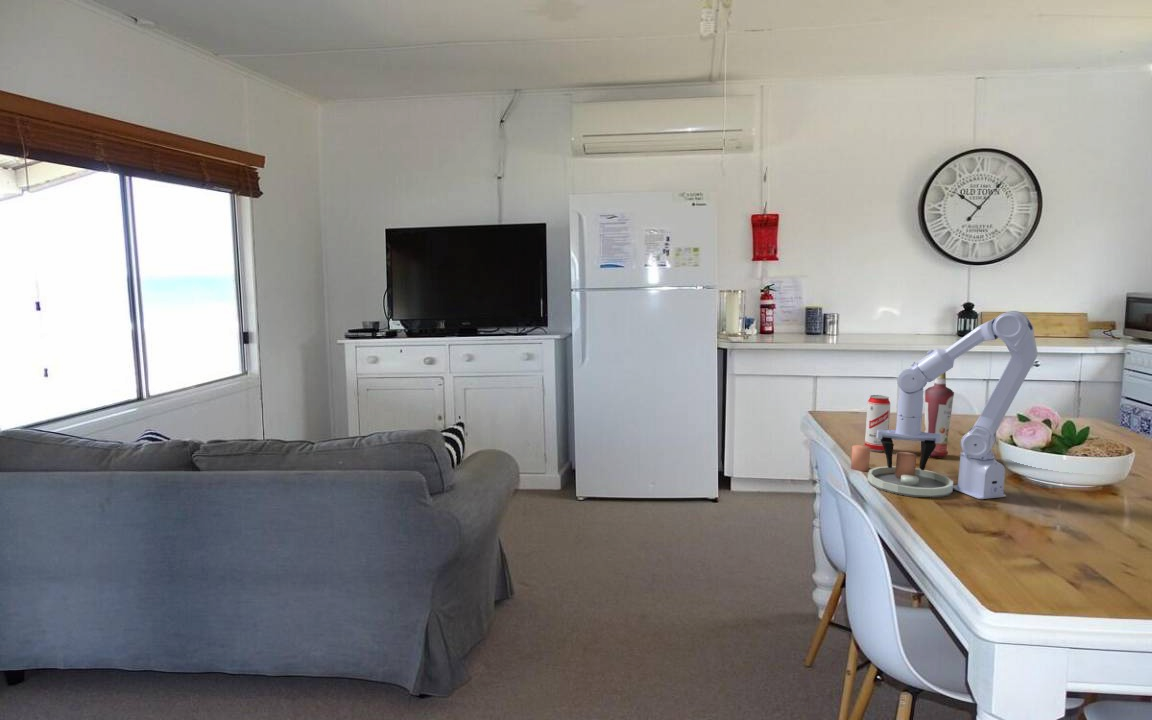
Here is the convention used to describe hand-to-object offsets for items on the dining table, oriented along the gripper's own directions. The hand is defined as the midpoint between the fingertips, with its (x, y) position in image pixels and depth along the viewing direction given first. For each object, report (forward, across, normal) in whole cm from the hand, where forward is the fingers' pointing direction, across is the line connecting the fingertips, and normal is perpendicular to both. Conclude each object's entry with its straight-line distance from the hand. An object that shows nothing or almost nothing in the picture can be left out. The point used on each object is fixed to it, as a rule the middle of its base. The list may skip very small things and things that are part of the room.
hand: (905, 468), depth 183 cm
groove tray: (+3, 0, +5) cm, 6 cm away
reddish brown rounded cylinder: (+3, +10, -8) cm, 13 cm away
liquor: (+3, -13, -28) cm, 31 cm away
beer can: (+3, +2, -30) cm, 31 cm away
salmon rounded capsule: (+2, 0, 0) cm, 2 cm away
